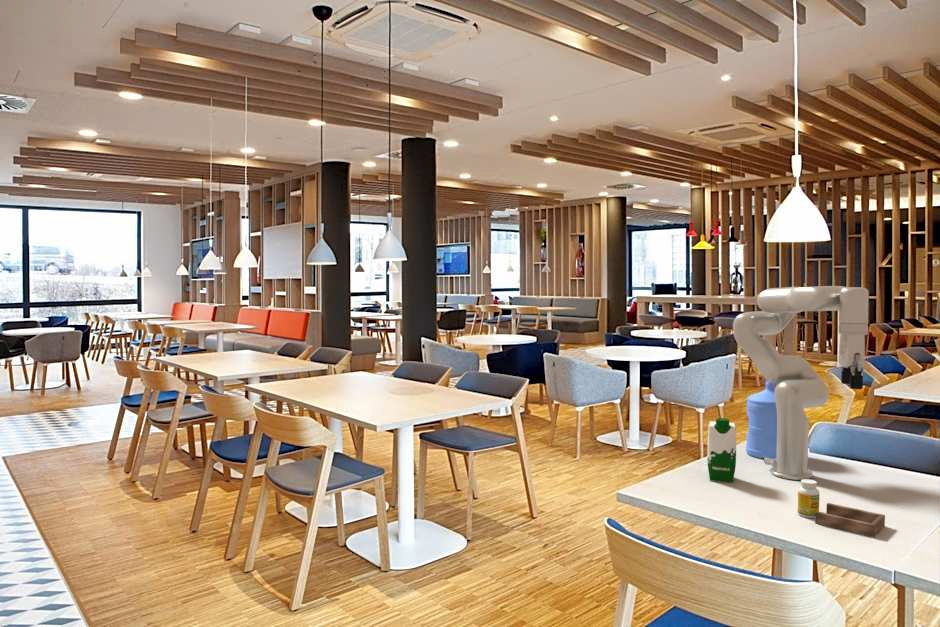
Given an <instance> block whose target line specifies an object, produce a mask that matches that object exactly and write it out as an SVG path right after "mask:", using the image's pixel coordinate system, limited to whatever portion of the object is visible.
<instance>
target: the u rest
mask: <svg viewBox="0 0 940 627" xmlns="http://www.w3.org/2000/svg"><path fill="white" fill-rule="evenodd" d="M814 519H815V520H814V524H817V525H820V526H824V527H829V528H834V529H837V530H838V529H839V530H843V531H845V532H850V533H855V534H858V533H859V535H862V534H864V535H863V536H867V535H868V536H867V537H871V536H873V537H872V538H874V537H876V535H878V534H879V532H881V530H882V529H883V528H885V524H886V521H885V520H886V515H885V514H881V513H877V512H873V511H868V510H863V509H858V508H853V507H849V506H844V505H840V504H835V503H830V502H827V503H826V512H821V511H819V512H818V511H817V512H815V518H814Z"/></svg>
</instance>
